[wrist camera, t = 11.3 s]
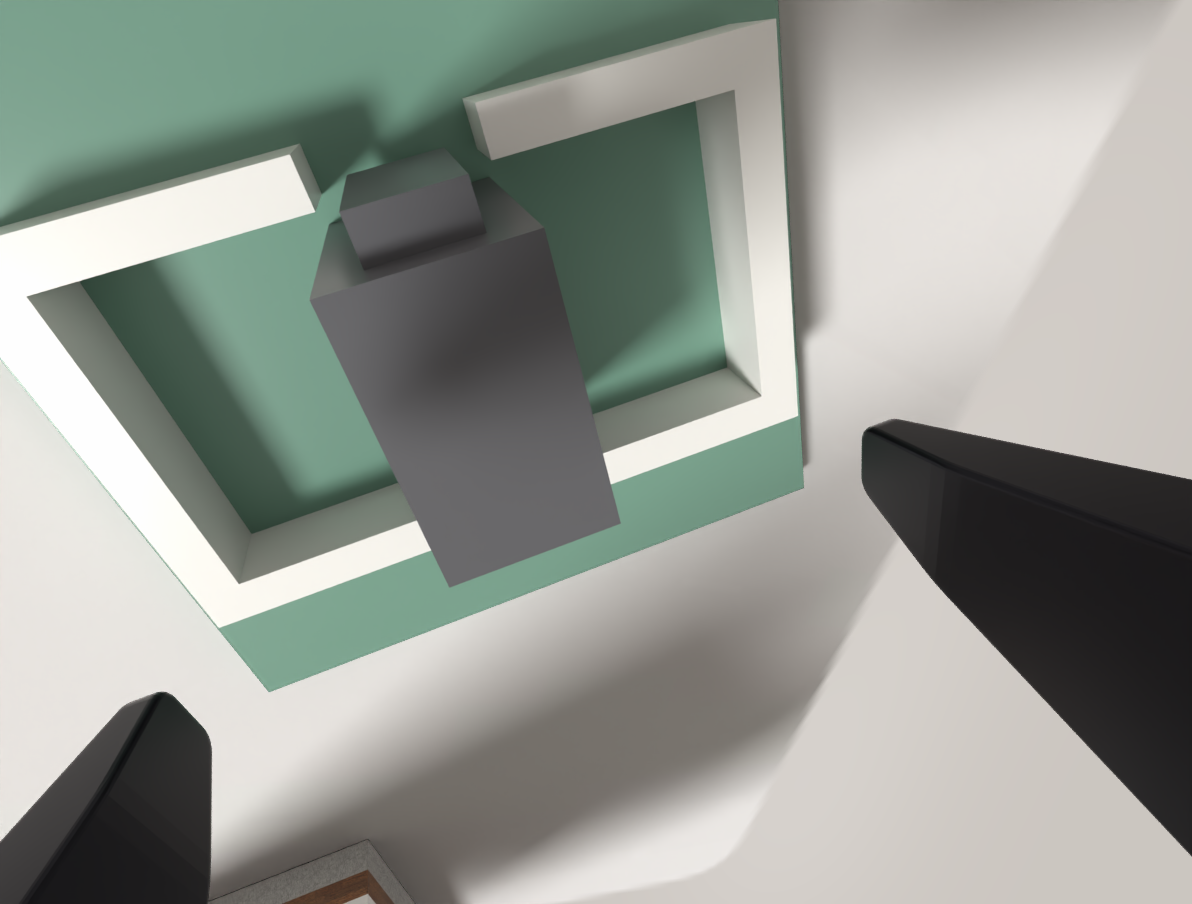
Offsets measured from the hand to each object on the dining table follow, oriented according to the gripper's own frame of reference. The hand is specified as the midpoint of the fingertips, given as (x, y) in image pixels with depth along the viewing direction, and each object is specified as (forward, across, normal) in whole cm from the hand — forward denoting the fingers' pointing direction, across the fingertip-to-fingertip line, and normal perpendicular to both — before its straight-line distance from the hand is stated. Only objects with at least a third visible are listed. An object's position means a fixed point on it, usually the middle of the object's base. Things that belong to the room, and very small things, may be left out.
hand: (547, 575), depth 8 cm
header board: (+10, 0, 0) cm, 10 cm away
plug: (+9, 0, 0) cm, 9 cm away
